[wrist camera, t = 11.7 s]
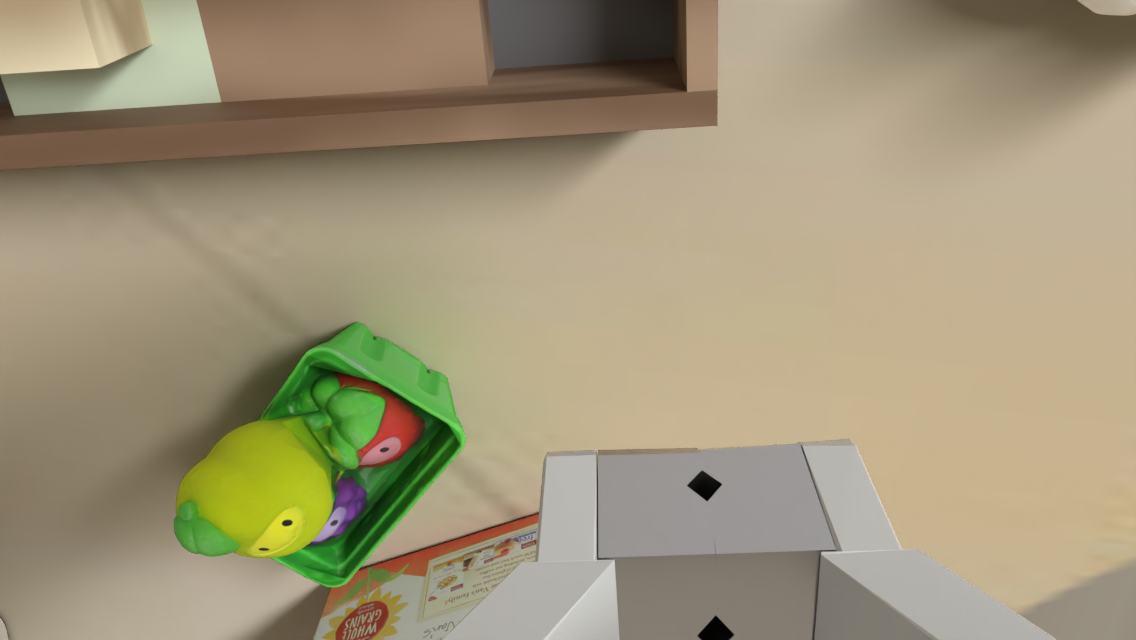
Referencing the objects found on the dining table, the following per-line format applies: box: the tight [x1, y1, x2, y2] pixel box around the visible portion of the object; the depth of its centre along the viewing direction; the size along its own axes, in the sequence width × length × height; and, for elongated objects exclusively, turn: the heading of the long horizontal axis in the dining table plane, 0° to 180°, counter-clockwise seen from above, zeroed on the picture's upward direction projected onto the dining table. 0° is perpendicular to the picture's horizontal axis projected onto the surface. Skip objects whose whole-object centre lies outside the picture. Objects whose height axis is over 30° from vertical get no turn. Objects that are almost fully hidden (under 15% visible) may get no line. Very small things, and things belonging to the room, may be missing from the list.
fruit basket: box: [174, 322, 466, 587], centre depth 39 cm, size 11×9×11 cm
